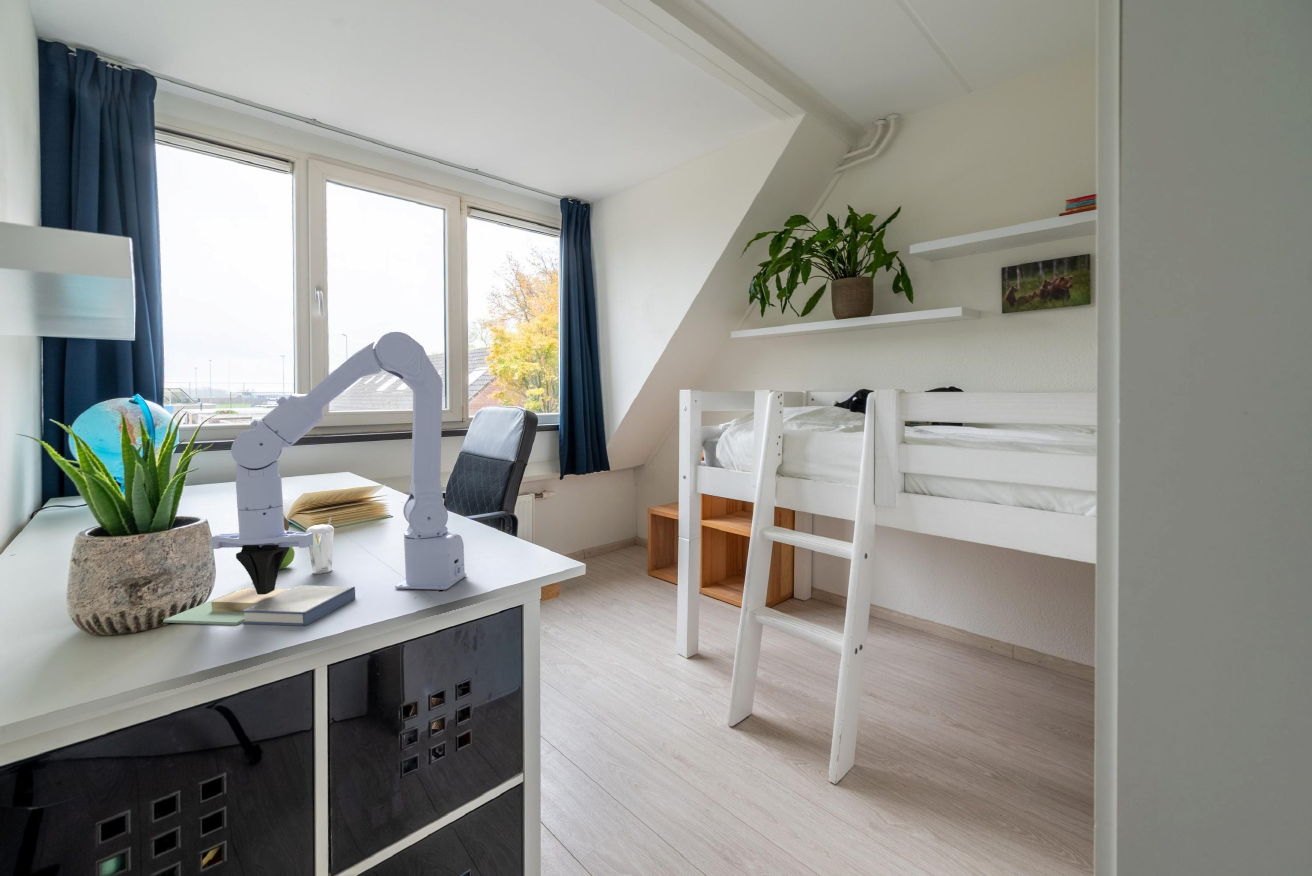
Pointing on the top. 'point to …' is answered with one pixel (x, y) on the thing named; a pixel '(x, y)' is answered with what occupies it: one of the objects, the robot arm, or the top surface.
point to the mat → (207, 616)
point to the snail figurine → (290, 553)
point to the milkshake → (321, 547)
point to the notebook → (299, 605)
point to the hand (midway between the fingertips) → (265, 592)
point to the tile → (242, 600)
